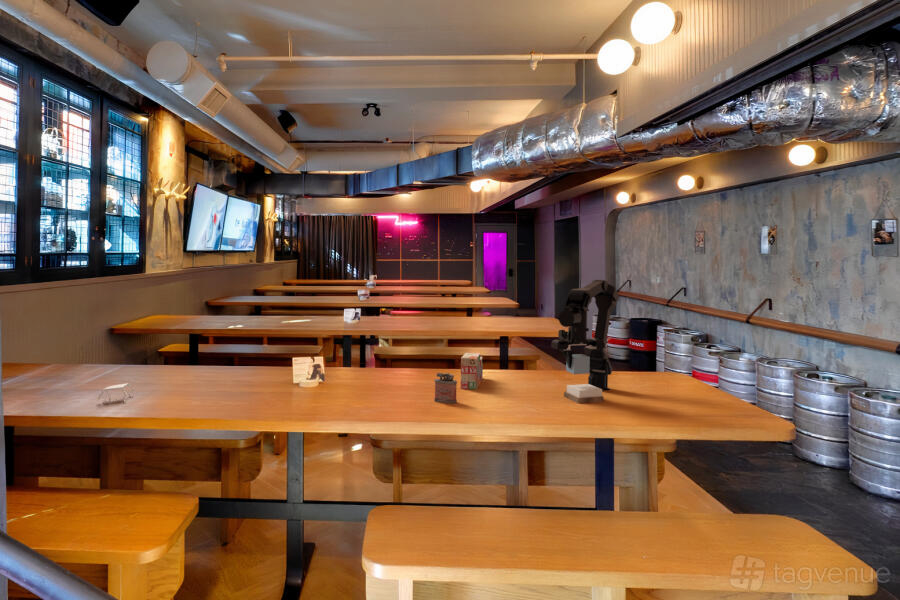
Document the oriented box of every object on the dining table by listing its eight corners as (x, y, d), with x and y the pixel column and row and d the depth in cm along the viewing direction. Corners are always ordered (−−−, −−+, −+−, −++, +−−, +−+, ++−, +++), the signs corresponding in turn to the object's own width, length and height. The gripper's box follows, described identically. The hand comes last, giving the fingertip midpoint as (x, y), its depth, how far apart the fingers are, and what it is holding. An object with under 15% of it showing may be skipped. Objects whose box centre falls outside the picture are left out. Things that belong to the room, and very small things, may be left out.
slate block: (581, 370, 196) (581, 353, 196) (589, 373, 190) (589, 356, 190) (566, 370, 195) (566, 354, 194) (574, 374, 189) (574, 357, 188)
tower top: (588, 390, 197) (588, 383, 197) (602, 396, 189) (602, 389, 189) (566, 392, 195) (566, 385, 195) (579, 397, 186) (579, 390, 186)
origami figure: (120, 404, 178) (120, 389, 178) (96, 404, 178) (95, 389, 178) (142, 395, 190) (142, 382, 190) (119, 395, 190) (119, 381, 190)
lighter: (458, 401, 186) (458, 373, 186) (454, 403, 183) (455, 374, 182) (436, 399, 189) (436, 371, 188) (432, 401, 186) (433, 373, 185)
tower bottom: (588, 396, 198) (588, 390, 198) (603, 403, 188) (603, 396, 188) (563, 398, 195) (564, 391, 195) (577, 405, 186) (577, 398, 186)
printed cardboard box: (468, 377, 227) (468, 348, 226) (482, 378, 226) (483, 349, 225) (460, 389, 206) (460, 357, 205) (476, 389, 205) (477, 357, 204)
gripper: (590, 321, 201) (589, 362, 202) (545, 322, 197) (544, 364, 198) (606, 325, 191) (605, 368, 192) (558, 326, 186) (557, 370, 187)
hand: (577, 367), depth 192 cm, fingers closed on slate block, 6 cm apart
